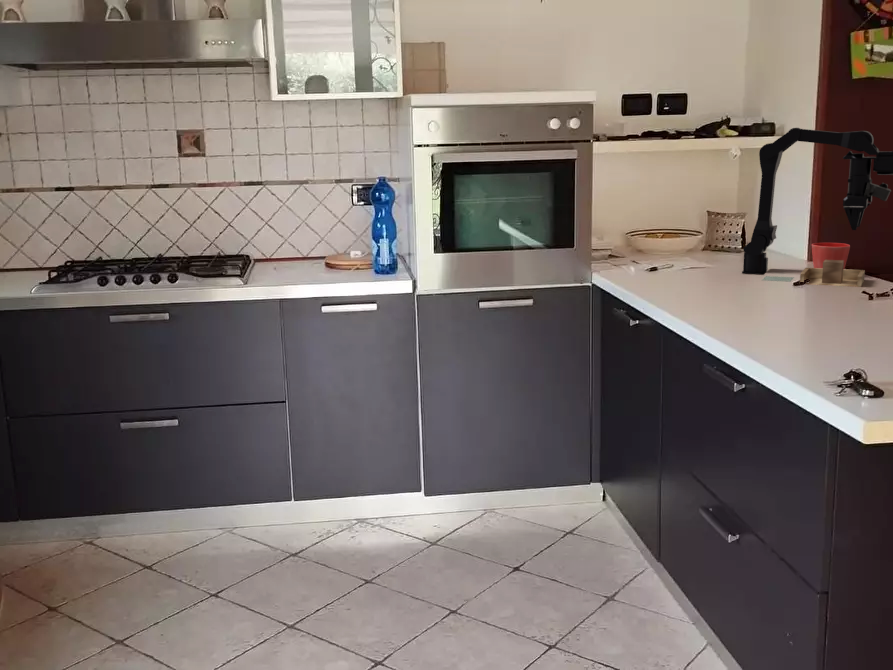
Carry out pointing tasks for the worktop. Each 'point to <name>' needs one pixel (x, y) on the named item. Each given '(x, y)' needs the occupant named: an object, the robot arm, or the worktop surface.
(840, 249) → the flower pot
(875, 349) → the worktop surface
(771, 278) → the mat
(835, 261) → the block
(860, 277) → the crate
